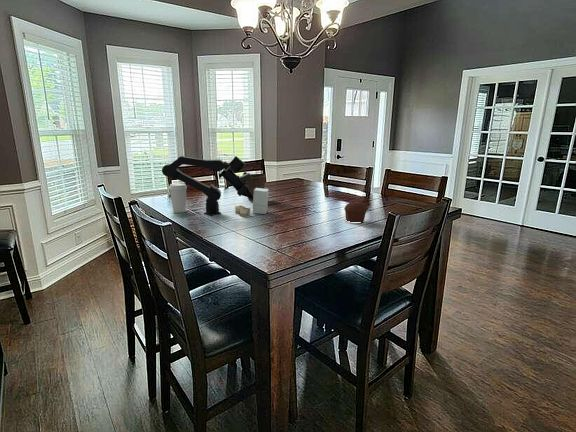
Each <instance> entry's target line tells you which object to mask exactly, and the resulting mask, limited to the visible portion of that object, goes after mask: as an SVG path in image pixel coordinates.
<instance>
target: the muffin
mask: <svg viewBox="0 0 576 432" xmlns="http://www.w3.org/2000/svg"><path fill="white" fill-rule="evenodd" d="M368 210H369V209H368V208H367V205H366V204H364V203H363V202H361V201H350V202H348V203H347V204H346V205H345V207H344V212H345V215H344V216H345V221H346V220H347V221H350V222H363V221H364V222H365V217H366V214H367V212H368ZM347 221H346V222H347ZM364 222H363V223H364Z"/></svg>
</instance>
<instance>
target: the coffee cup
mask: <svg viewBox="0 0 576 432" xmlns="http://www.w3.org/2000/svg"><path fill="white" fill-rule="evenodd" d="M168 189H169V193H170V198H171V205H172V212H173V213H176V214H177V213H179V214H183V213H185V212H186V211H187V210H186V209H187V189H188V187H187V184H186V183H184V182H182V183H181V182H179V183H178V182H177V183H170V184H169V187H168Z"/></svg>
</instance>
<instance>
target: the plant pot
mask: <svg viewBox="0 0 576 432" xmlns="http://www.w3.org/2000/svg"><path fill="white" fill-rule="evenodd" d="M250 175H251V177H252V179H251V180H248V181H246V182H247V184H246V185H248V190H249V191H250V193H251V194H252V195H254V190H255V189H256V188H262V189H265V185H266V178H267V175H266V174H261V173H250ZM247 199H248V201H249V202H253V199H251V198H248V197H247Z"/></svg>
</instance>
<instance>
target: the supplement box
mask: <svg viewBox="0 0 576 432" xmlns="http://www.w3.org/2000/svg"><path fill="white" fill-rule="evenodd" d="M269 192H270V191H269V188H264V189H262V188H256V189H255V190H254V195H253V201H252V213H253V214H260V215H261V214H262V215H266V214H267V211H268V203H269V194H270V193H269Z"/></svg>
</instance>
